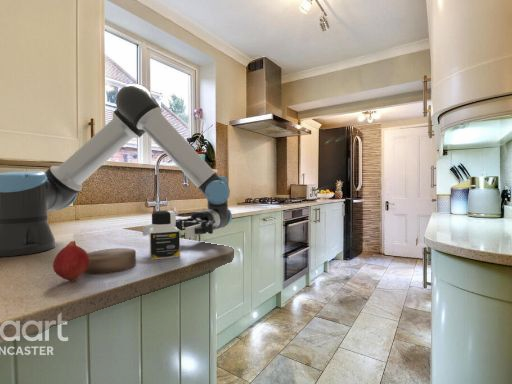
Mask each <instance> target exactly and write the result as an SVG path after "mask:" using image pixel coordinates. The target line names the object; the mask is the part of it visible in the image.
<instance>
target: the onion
mask: <svg viewBox="0 0 512 384" xmlns="http://www.w3.org/2000/svg"><path fill="white" fill-rule="evenodd" d="M86 251H87V250H85V249H83V248H82V247H81V246H79V245H76V241H75V240H71V241H69V243H68V244H66V246H64V247H63V248H62V249H61V250H60V251H59V252H58V253H57V254H56V256H55V257H54V260H53V264H52V267H53V272H54V273H55V274H56V275H57V276H58V277H59V278H61V279H64V280H67V281H68V282H75V281H77V280H78V279H79V278H80V277H81V276H82V275H84V274H85V273H84V272H85V271H86V270H87V267H88V265H89V256H88V254H87V253H88V252H86Z"/></svg>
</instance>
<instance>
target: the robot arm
mask: <svg viewBox="0 0 512 384" xmlns="http://www.w3.org/2000/svg"><path fill="white" fill-rule="evenodd" d="M115 105H116V109H115V110H114V111H113V112H112V119H111V120H110V121H109V122H108V123H107V124H105V125H104V126H103V127H102V128H101V129H100V130H98V132H96V133H95V134H94V135H93V136H92V137H91V138H90V139H89V140H88V141H86V142H85V143H84V144H83V145H82V146H81V147H79V149H77V150H76V151H75V152H74V153H73V154H72V155H71V156H69V157H68V158H67V159H65V161H64V162H63V163H61V164H60V165H51V166H50V167H49V168H48V169H47V170H46V171H45V172H44V171H39V170H38V171H35V170H34V171H31V170H30V171H9V172H7V171H5V172H0V257H15V256H22V255H30V254H36V253H41V252H46V251H49V250H52V249H54V248H55V247H56V238H55V236H54V233H53V232H52V229H51V227H50V225H49V221H48V212H50V211H51V212H52V211H59V210H63V209H66V208H67V207H70V206H71V205H72V204H73V203H74V202H75V201H76V199H77V197H78V194H79V193H80V192H81V191H82V190H83V183H84V182H85V181H87V179H89V177H90V176H92V175H93V174H94V173H95V172H96V171H97V170H99V168H100V167H102V166H103V165H104V164H105V163H106V162H107V161H109V160H110V159H111V158H112V157H113V156H114V155H115V154H116V153H118V152H119V150H120V149H122V148H123V147H124V146H125V145H126V144H127V143H128V142H130V141H131V140H132V139H134V138H135V139H137V138H139V139H140V138H141V137H142V136H143V135H144V134H147V136H149V138H151V140H152V141H153V142H154V143H155V144H156V145H157V146H158V147H159V148H160V149H161V151H162V152H164V153H165V155H166V156H167V157H168V158H169V159H170V160H171V161H172V162H173V163H174V164H175V165H176V166H177V168H179V169H180V171H181V172H182V173H183V174H184V175H185V176H186V177H187V178H188V179H189V180H190V182H192V184H193V185H195V187H197V188H198V189H199V191H200V192H201V193H202V194H203V195H204V196H205V198H206V200H207V209H204V210H199V211H195V212H194V213H192V215H191V216H190V217H187V218H176V225H175V227H177V229H178V230H179V231H184V233H185V234H184V238H185V239H190V238H192V237H196V236H199V235H204V234H207V233H208V234H209V235H212V234H214V231H215V230H218V229H223V228H226V226H227V227H228V225H230V223H231V222H232V219H233V213H232V212H231V210H230V209H229V204H228V199H229V198H230V195H231V194H230V193H231V189H230V187H229V184H228V177H226V176H223V175H221V176H220V175H218V174H217V173H216V172H215V171H214V170H213V168H211V166H210V165H209V164H208V163H207V161H205V159H203V157H202V156H201V155H200V154H199V153H198V152H197V151H196V149H195V148H194V147H192V146H191V144H190V143H189V142H188V140H186V139H185V138H184V136H182V135H181V133H180V132H179V131H178V130H177V129H176V128H175V127H174V126H173V125H172V124H171V122H170V121H169V120H168V119H167V118H166V117H165V115H163V114H162V112H163V110H162V108H161V107H160V104H159V103H158V102H157V100H156V99H155V98H154V97H153V95H152V94H151V93H150V91H149V90H148V89H147V88H145V87H144V86H141V85H138V84H127V85H125V86H123V87H121V88H120V89H119V91H118V92H117V94H116V97H115ZM150 228H153V227H152V223H149V224H145V225H142V237H144V236H150V235H149V229H150Z"/></svg>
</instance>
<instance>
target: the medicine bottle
mask: <svg viewBox="0 0 512 384" xmlns="http://www.w3.org/2000/svg"><path fill="white" fill-rule="evenodd" d="M176 215H177V214H176V212H175V211H173V210H165V209H163V210H156V211H154V212H152V213H151V224H152V227H153V228H150V229H149V235H148V236H149V256H150V260H152V261H153V260H161V259H171V258H179V257H180V256H181V249H180V247H181V242H180V241H181V239H180V238H181V237H180V235H181V234H180V233H181V232H180V231H181V230H179V229H177V227H175V225H176V220H177V217H176Z"/></svg>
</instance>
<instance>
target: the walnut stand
mask: <svg viewBox="0 0 512 384" xmlns="http://www.w3.org/2000/svg"><path fill="white" fill-rule="evenodd" d="M86 253H87V254H88V256H89V265H88V267H87V270H86V271H85V272H84V273H83V274H88V275H105V274H106V275H107V274H114V273H117V272H118V273H119V272H123V271H127V270H128V269H131V268H133V267H135V266H136V265H137V252H136V250H135V249H133V248H125V247H123V248H121V247H118V248H117V247H116V248H105V249H100V250H95V251H91V252H86Z"/></svg>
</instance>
